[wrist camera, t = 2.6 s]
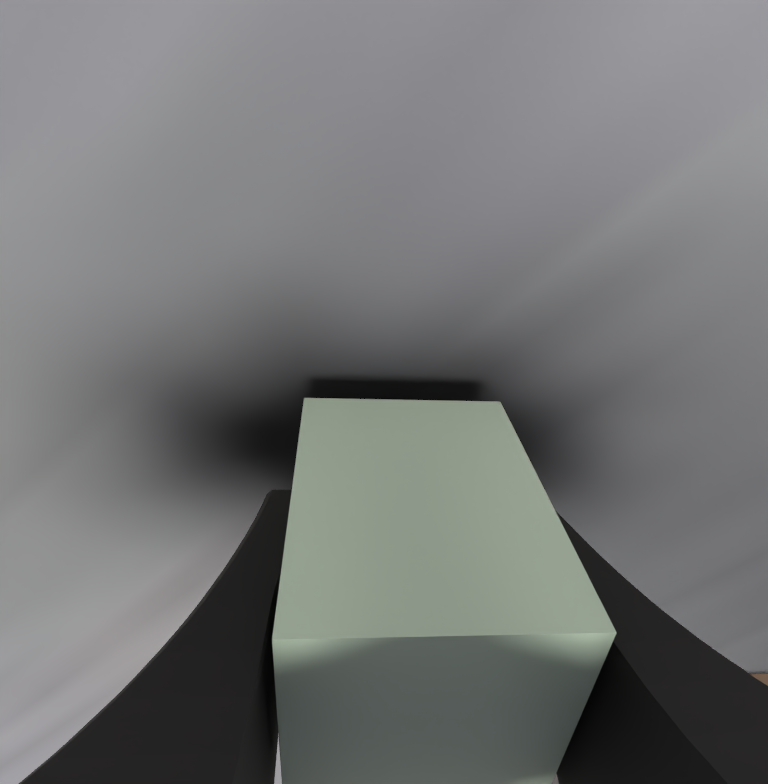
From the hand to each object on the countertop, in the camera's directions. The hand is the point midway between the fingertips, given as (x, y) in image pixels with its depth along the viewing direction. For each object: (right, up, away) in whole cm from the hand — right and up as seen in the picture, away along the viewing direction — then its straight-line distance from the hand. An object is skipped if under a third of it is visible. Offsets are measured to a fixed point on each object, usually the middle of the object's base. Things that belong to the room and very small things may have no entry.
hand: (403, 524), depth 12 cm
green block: (0, +1, +1) cm, 2 cm away
